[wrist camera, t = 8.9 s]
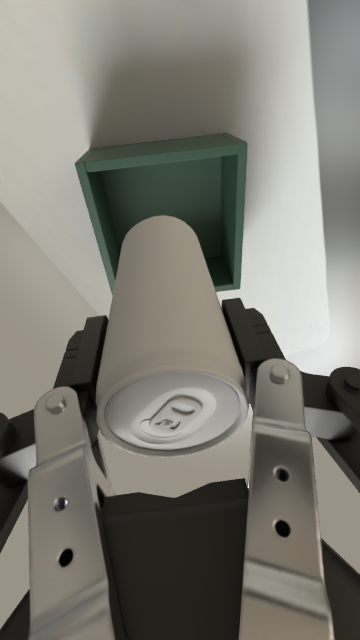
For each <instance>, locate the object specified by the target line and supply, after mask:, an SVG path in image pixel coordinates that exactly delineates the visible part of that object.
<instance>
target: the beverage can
mask: <svg viewBox="0 0 360 640" xmlns="http://www.w3.org/2000/svg"><path fill="white" fill-rule="evenodd" d="M246 389H247V385H246V381H245V378H244V374H243V371H242V368H241V365H240V362H239V359H238V356H237V353H236V350H235V347H234V344H233V341H232V338H231V335H230V332H229V329H228V326H227V323H226V320H225V318H224V315H223V312H222V309H221V306H220V303H219V300H218V297H217V294H216V291H215V288H214V285H213V282H212V279H211V276H210V273H209V271H208V268H207V265H206V262H205V259H204V256H203V253H202V250H201V247H200V244H199V241H198V238H197V236H196V234H195V233H194V231H193V230H192V228H191V227H190V226H188V225H187V224H186V223H185V222H184V221H182V220H180V219H177V218H175V217H171V216H165V215H162V216H154V217H151V218H148V219H145V220H143V221H141V222H140V223H138V224H136V225H135V226H133V227H132V229H131V230H130V231H129V232H128V233H127V234H126V236H125V239H124V241H123V243H122V248H121V254H120V259H119V265H118V270H117V276H116V281H115V287H114V292H113V298H112V303H111V309H110V314H109V320H108V325H107V331H106V336H105V342H104V347H103V353H102V358H101V364H100V369H99V375H98V380H97V387H96V405H97V407H98V408H97V425H98V427H99V429H100V432H101V434H102V435H103V436H104V437H105V438H106V439H107V440H108V441H109V442H110V443H111V444H113V445H115V446H117V447H118V448H120V449H122V450H124V451H127V452H131V453H133V454H136V455H142V456H148V457H165V458H166V457H167V458H171V457H180V456H187V455H192V454H196V453H200V452H204V451H206V450H209V449H211V448H214V447H216V446H218V445H220V444H222V443H223V442H225V441H226V440H228V439H230V438H231V437H232V436H233V435H235V433H237V432H238V431H239V430H240V429H241V427H242V426H243V424H244V422H245V421H246V419H247V415H248V408H249V405H248V401H247V398H246Z"/></svg>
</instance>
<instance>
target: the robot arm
mask: <svg viewBox="0 0 360 640" xmlns="http://www.w3.org/2000/svg"><path fill="white" fill-rule="evenodd" d="M222 312H223V315H224V318H225V320H226V323H227V326H228V329H229V332H230V335H231V338H232V341H233V344H234V347H235V350H236V353H237V356H238V359H239V362H240V365H241V368H242V371H243V374H244V378H245V381H246V385H247V389H246V398H247V401H248V404H251V407H252V409H253V420H252V433H251V446H250V459H249V471H248V483H247V485H246V482H245V479H244V478H243V479H235V480H229V481H220V482H213V483H209V484H207V485H204V486H202V487H200V488H198V489H195V490H193V491H191V492H188V493H186V494H184V495H182V496H179V497H177V498H170V497H164V496H158V495H152V494H145V493H140V492H138V493H130V494H123V495H115V492H114V490H113V487H112V484H111V481H110V477H109V473H108V468H107V465H106V460H105V456H104V452H103V448H102V444H101V440H100V436H99V434H98V431H99V427H98V425H97V408H98V407H97V405H96V387H97V380H98V375H99V369H100V364H101V358H102V353H103V347H104V342H105V336H106V331H107V325H108V318H107V316H106V315H104V316H97V317H90V318H87V320H86V324H85V327H84V330H82V331H76V333H75V334H74V335H73V336H72V337H71V338H70V340H69V342H68V345H67V348H66V352H65V354H64V357H63V360H62V363H61V366H60V369H59V372H58V375H57V378H56V382H55V384H54V387H53V389H52V390H50V391H48V392H47V393H45V394H44V395H43V396H42V397H41V398H40V399H39V400H38V402H37V403H36V406H35V408H34V409H33V410H31V411H28V412H26V413H23V414H21V415H19V416H16V417H14V418H11V419H8V418H7V417H6V416H5V415H4V414H2V413H0V553H1V551H2V549H3V547H4V545H5V543H6V541H7V539H8V537H9V535H10V533H11V531H12V529H13V527H14V525H15V523H16V521H17V519H18V517H19V515H20V513H21V512H22V509H23V508H24V505H25V504H26V502H27V500H28V526H29V575H30V589H29V590H28V592H27V593H26V594H25V596H24V597H23V599H22V600H21V601H20V603H19V604H18V605H17V607H16V608H15V610H14V611H13V613H12V614H11V615H10V617H9V618H8V619H7V621H6V622H5V624H4V625H3V626H2V628H1V629H0V640H360V574H359V573H358V572H357V571H356V570H355V569H354V568H352V567H351V566H350V565H349V564H348V563H347V562H346V561H345V560H344V559H343V558H342V557H341V556H340V555H339V554H338V553H337V552H335V551H334V550H333V549H332V548H331V547H330V546H329V545H328V544H327V543H326V542H325V541H324V540H323V539H322V538H321V536H320V524H319V514H318V503H317V491H316V480H315V471H314V470H315V469H314V458H313V447H312V438H311V436H313V437H317V439H318V440H319V441H320V442H321V444H322V445H323V446H324V448H325V449H326V450H327V452H328V453H329V454H330V455H331V457H332V458H333V459H334V460H335V462H336V463H337V464H338V466H339V467H340V468H341V469H342V471H343V472H344V473H345V475H346V476H347V477H348V478H349V480H350V481H351V482H352V484H353V485H354V486H355V487H356V489H357V490H358V491H359V493H360V369H357V368H353V367H340V368H337V369H335V370H334V371H333V372H332V373H331V374H330V377H329V376H321V375H313V374H308V373H304V372H301V371H300V370H299V369H298V368H297V367H296V366H295V365H294V364H293V363H291V362H289V361H287V360H286V359H285V357H284V355H283V353H282V351H281V350H280V348H279V346H278V344H277V342H276V340H275V338H274V336H273V334H272V333H271V330H270V328H269V326H268V325H267V322H266V320H265V318H264V316H263V315H262V314H261V313H260V312H258V311H257V310H256V309H255V308H250V309H245V307H244V305H243V303H242V301H241V299H240V298H235V299H227V300H222Z"/></svg>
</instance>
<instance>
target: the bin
mask: <svg viewBox="0 0 360 640" xmlns="http://www.w3.org/2000/svg"><path fill="white" fill-rule="evenodd" d="M246 162H247V142H245V141H243V140H241V139H239V138H236V137H234V136H232V135H230V134H228V133H221V134H213V135H205V136H196V137H188V138H179V139H171V140H162V141H154V142H145V143H137V144H128V145H120V146H112V147H103V148H95V149H89V150H88V151H87V152H86V153H85V154H84V155H83V156H82V157H81V158H80V159H79V160H78V161H77V162H76V163H75V166H76V170H77V173H78V177H79V180H80V184H81V187H82V191H83V194H84V198H85V201H86V205H87V208H88V212H89V215H90V219H91V222H92V226H93V229H94V233H95V236H96V240H97V243H98V247H99V250H100V254H101V257H102V261H103V264H104V267H105V271H106V274H107V278H108V281H109V285H110V288H111V292H112V295H113V292H114V287H115V281H116V276H117V270H118V265H119V259H120V254H121V248H122V243H123V241H124V239H125V236H126V234H127V233H128V232H129V231H130V230H131V229H132V227H133V226H135V225H136V224H138V223H140V222H141V221H143V220H145V219H148V218H151V217H154V216H162V215H165V216H171V217H175V218H177V219H180V220H182V221H184V222H185V223H186V224H187V225H188V226H190V227H191V228H192V230H193V231H194V233H195V234H196V236H197V238H198V241H199V244H200V247H201V250H202V253H203V256H204V259H205V262H206V265H207V268H208V271H209V273H210V276H211V279H212V282H213V285H214V288H215V291H216V292H219V291H226V290H235V289H240V282H241V262H242V242H243V222H244V202H245V182H246Z"/></svg>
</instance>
